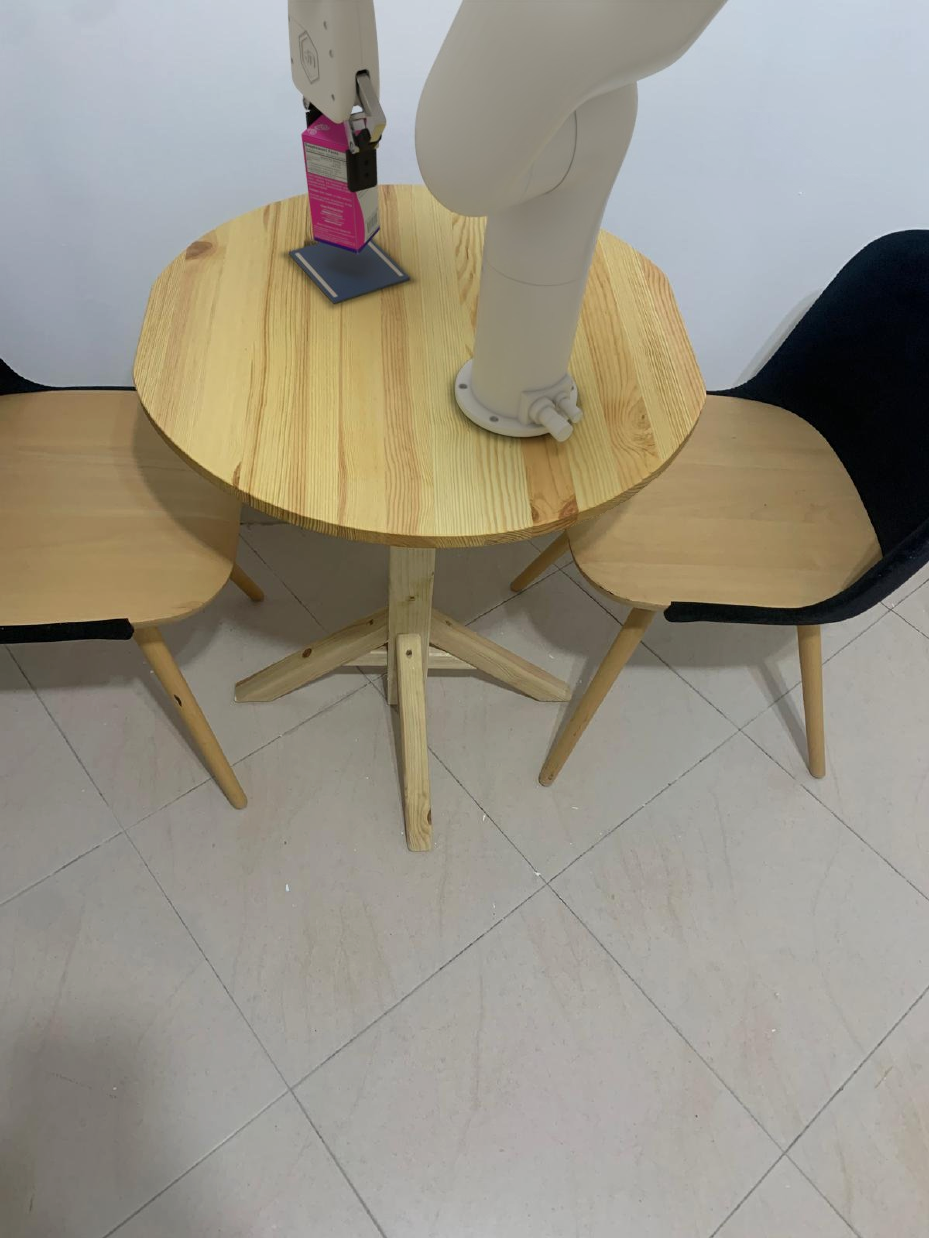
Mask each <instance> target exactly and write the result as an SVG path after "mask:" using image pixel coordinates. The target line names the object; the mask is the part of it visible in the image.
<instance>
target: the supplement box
mask: <svg viewBox="0 0 929 1238" xmlns="http://www.w3.org/2000/svg"><path fill="white" fill-rule="evenodd" d="M353 124H354V128H355V132H356V136H357V135H358V134H359V132H360V131H361V130H362V129H364V128H365V125H364V121H363V120H360V121H356V122H353ZM300 135H301V145H302V151H303V161H304V168H305V169H304V171H305V176H306V185H307V194H308V201H309V202H308V203H309V210H310V217H311V219H310V220H311V227H312V235H313V237H312V238H313V240H314V241H315V242H318V243H324V244H327V245H330V246H334V247H337V248H340V249H343V250H346V251H349V252H352V253H355V254H359V253H360V252H361V251H362V250H363V249H364V247H365V246H366V245H367V244H368V243H369V242H370V240H371V239H372V240H373V238H374V237H375V236H376V235H377V234H378V233H379V232H380V230H381V224H380V223H381V222H380V205H379V201H380V200H379V181H378V179H379V178H377V185H376V186H375V187H372V188H369V189H365V190H361V191H357V192H354V193H352V192H351V191H350V190H349V189H348V187H347V168H346V150H347V149H350V148H349V144H348V140H347V137H346V133H345V129H344V125H343V122H342V123H338V124H337V123H335V122H333V121H331V120H330V119H329V118H328V117H327V116H325V115H324V114H323V115H322V116H320V117H319V118H318V119H317V120H316V121H315V122H314V123H313V124H312V125H311V126H310V127H308V128H307V127H306V129H305V130H304V131H303V132H302V133H301V134H300Z"/></svg>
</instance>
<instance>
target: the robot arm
mask: <svg viewBox="0 0 929 1238" xmlns="http://www.w3.org/2000/svg"><path fill="white" fill-rule="evenodd" d="M728 2H729V0H462V1H461V3H460V5H459V7H458V10H457V12H456V14H455V15H454V18H453V20H452V22H451V25H450V27H449V28H448V31H447V33H446V35H445V38H444V40H443V41H442V44H441V46H440V48H439V51H438V53H437V54H436V57H435V59H434V62H433V64H432V65H431V68H430V70H429V73H428V75H427V77H426V79H425V82H424V84H423V88H422V90H421V93H420V97H419V100H418V103H417V110H416V114H415V119H414V120H415V121H414V123H415V124H414V149H415V157H416V162H417V165H418V170H419V172H420V176H421V178H422V181H423V182H424V185H425V186H426V188H427V190H428V191H429V193H430V194H431V196H432V197H433V198H434V199H435V201H437V202H438V203H439V204H440V205H441V206H442V207H443V208H445V209H446V210H448V211H450V212H452V213H454V214H456V215H459V216H462V217H466V218H485V217H487V218H486V223H485V228H484V237H483V245H482V254H481V264H480V275H479V286H478V296H477V297H478V298H477V310H476V319H475V320H476V321H475V330H474V341H473V351H472V357H471V358H470V359H469V360H467V361H466V362H465V363H464V364H463V365H462V366H461V367H460V369H459V371H458V372H457V374H456V377H455V381H454V382H455V383H454V396H455V400H456V402H457V405H458V407H459V408H460V410H461V411H462V412H463V414H464V415H465V416H466V417H467V418H468V419H470V421H471V422H473V423H474V424H476V425H477V426H479V427H481V428H483V429H485V430H487V431H490V432H492V433H495V434H499V435H502V436H506V437H514V438H515V437H516V438H530V437H536V436H537V437H538V436H541V435H545V434H549V435H551V436H552V437H553V438H554V439H555V440H556V441H557V442H559V443H562V442H565V441H566V440H568V439H569V438H570V437H571V435H572V434H573V431H574V427H573V425H571V424H570V422H569V421H571V422H572V423H573V424H578V423H579V422H581V420H582V419H583V417H584V412H583V411H582V410H581V408H580V407H578V406H577V402H578V387H577V384H576V381H575V380H574V378H573V376H572V375H571V373H569V366H570V363H571V358H572V353H573V349H574V345H575V339H576V336H577V331H578V327H579V326H578V325H579V322H580V316H581V312H582V308H583V303H584V298H585V293H586V289H587V285H588V281H589V276H590V271H591V267H592V264H593V261H594V260H593V259H594V257H595V252H596V251H595V250H596V246H597V242H598V237H599V234H600V229H601V225H602V223H603V219H604V215H605V211H606V208H607V205H608V201H609V199H610V197H611V194H612V191H613V189H614V186H615V183H616V180H617V178H618V176H619V174H620V171H621V169H622V166H623V164H624V161H625V159H626V156H627V154H628V151H629V148H630V145H631V141H632V139H633V134H634V131H635V126H636V121H637V116H638V108H639V89H638V82H639V81H641V80H643V79H646V78H648V77H651V76H653V75H656V74H657V73H660V72H662V71H664V70H665V69H668V68H669V67H671V66H672V65H673V64H675V63H676V62H677V61H678V60H680V59H681V58H682V57H683V56H684V55H685V54H686V53H687V52H688V51H689V50H690V49H691V48H692V46H693V45H694V44H695V43H696V42H697V40H698V39H699V38H700V37H701V35H703V33H704V32H705V30H706V29H707V28H708V27H709V25H710V24H711V23H712V21H713V20H714V19H715V18H716V16H717V15H718V14H719V13H720V11H721V10H722V9H723V8H724V7H725V5H726V4H727V3H728ZM375 10H376V9H375V4H374V0H287V23H288V24H287V25H288V42H289V58H290V70H291V78H292V82H293V84H294V86H295V88H296V89H297V90H298V92H300V93H301V95H302V99H301V100H302V105H303V107H304V110H305V112H304V113H305V121H306V123H305V124H306V129H307V128H308V127H310V126H311V125H312V124H313V123H314V122H315V121H316V120H317V119H318V118H319V117H320V116H322V115H323V114H324V115H325V116H327V117H328V118H329V119H330V120H331V121H333V122H335V123H337V124H338V123H342V122H343V125H344V129H345V133H346V137H347V140H348V144H349V148H350V149H347V150H346V168H347V187H348V189H349V190H350V191H351V192H352V193H354V192H357V191H361V190H365V189H369V188H372V187H375V186H376V185H377V179H378V158H377V156H378V154H377V153H378V152H377V151H378V150H377V149H379V148H380V141H381V140H382V138H383V133H384V131H385V129H386V126H387V118H386V115H385V113H384V110H383V108H382V106H381V103H380V97H381V94H380V93H381V84H380V82H381V80H380V60H379V59H380V58H379V56H380V55H379V43H378V31H377V21H376V20H377V19H376V11H375ZM357 106H358V107H359V108H360V109H361V110H360V111H357V112H354V113H353V109H354V107H357ZM360 120H363V121H364V125H365V128H364V129H362V130H361V131H360V132H359V134H358V135H357V136H356V132H355V128H354V124H353V122H356V121H360Z"/></svg>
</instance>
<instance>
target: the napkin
mask: <svg viewBox="0 0 929 1238" xmlns="http://www.w3.org/2000/svg"><path fill="white" fill-rule="evenodd" d="M288 255H289V256H290V257H291V258H292V260H293V261H295V263H296V264H297V265H298V267H300V268H301V269H302V270H303V271H304V273H305V274H306V275H307V276H308V277H309V279H311V281H312V282H313V283H314V284H315V285H316V286H317V287H318V288H319V289H320V291H321V292H322V293H323V294H324V296H326V298H328V299H329V301H330V302H331V303H332V304H333V305H335V304H338V303H342V302H345V301H348V300H351V299H355V298H358V297H361V296H364V295H367V294H371V293H373V292H376V291H379V290H383V289H386V288H389V287H391V286H394V285H398V284H401V283H404V282H407V281H410V280H411V276H409V275H408V274H407V273H406V272H405V271H404V270H403V269H402V268H401V267H400V266H399V265H398V264H397V263H396V262H395V261H394V260H393V258H391V257H390V255H388V254H387V253H386V252H385V250H383V249H382V248H381V246H379V245H378V244H377V243H376V242H375V241H374V240H373V238H372V239H371V240H370V242H369V243H368V244H367V245H366V246H365V247H364V249H363V250H362V251H361V252H360V253H359V254H355V253H352V252H349V251H346V250H343V249H340V248H337V247H334V246H330V245H327V244H324V243H321V242H318V243H315V244H311V245H307V246H304V247H301V248H296V249H294V250H290V251H288Z"/></svg>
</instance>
